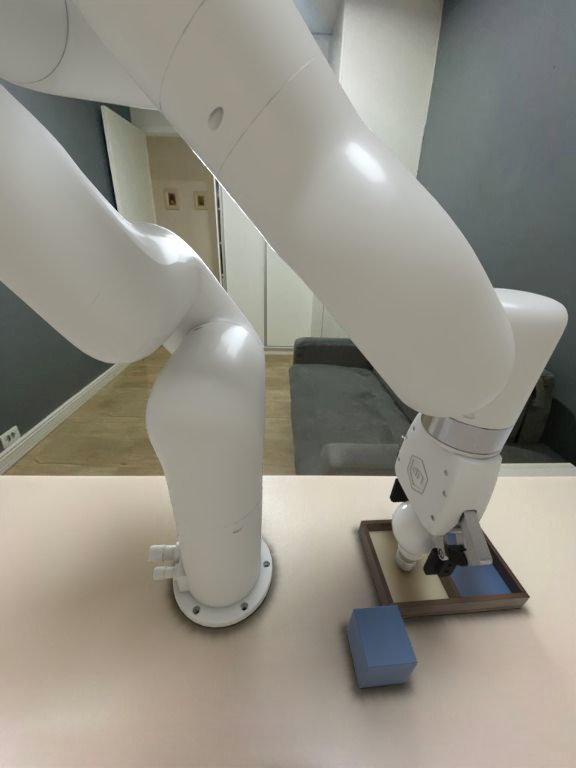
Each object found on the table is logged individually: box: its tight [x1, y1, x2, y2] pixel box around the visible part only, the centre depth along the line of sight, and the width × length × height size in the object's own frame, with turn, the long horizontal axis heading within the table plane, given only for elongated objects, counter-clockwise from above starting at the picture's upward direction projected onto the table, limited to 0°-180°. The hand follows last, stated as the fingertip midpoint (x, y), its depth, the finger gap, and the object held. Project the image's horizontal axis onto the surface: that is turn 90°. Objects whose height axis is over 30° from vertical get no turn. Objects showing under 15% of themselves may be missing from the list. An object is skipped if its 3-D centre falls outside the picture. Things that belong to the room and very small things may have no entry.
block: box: [346, 605, 419, 689], centre depth 33 cm, size 5×5×5 cm
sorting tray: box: [357, 518, 531, 619], centre depth 42 cm, size 18×12×3 cm, turn 96°
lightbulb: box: [391, 500, 437, 571], centre depth 39 cm, size 6×6×11 cm
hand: (416, 532), depth 38 cm, fingers open, 9 cm apart
